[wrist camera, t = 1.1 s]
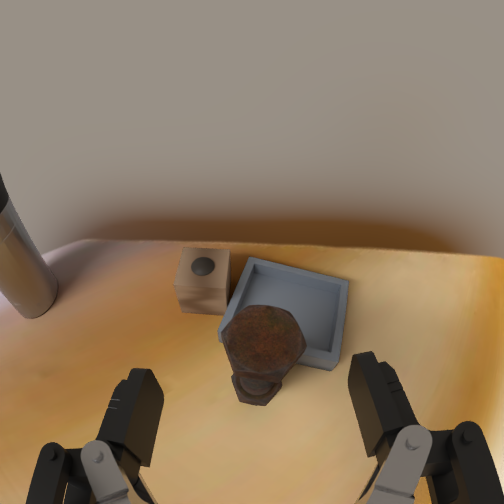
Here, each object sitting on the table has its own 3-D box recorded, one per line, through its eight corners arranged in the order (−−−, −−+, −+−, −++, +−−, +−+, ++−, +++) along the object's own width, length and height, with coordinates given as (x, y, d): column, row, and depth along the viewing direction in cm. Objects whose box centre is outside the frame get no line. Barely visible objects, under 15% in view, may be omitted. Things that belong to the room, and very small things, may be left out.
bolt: (253, 363, 31) (262, 289, 20) (288, 388, 29) (320, 328, 18) (220, 397, 28) (204, 343, 17) (255, 425, 26) (266, 393, 15)
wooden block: (181, 312, 35) (173, 284, 31) (189, 276, 40) (183, 246, 35) (227, 315, 35) (225, 287, 31) (231, 279, 40) (230, 248, 35)
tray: (219, 341, 33) (217, 330, 31) (248, 270, 41) (249, 256, 39) (330, 371, 30) (338, 362, 28) (342, 293, 38) (348, 280, 36)
